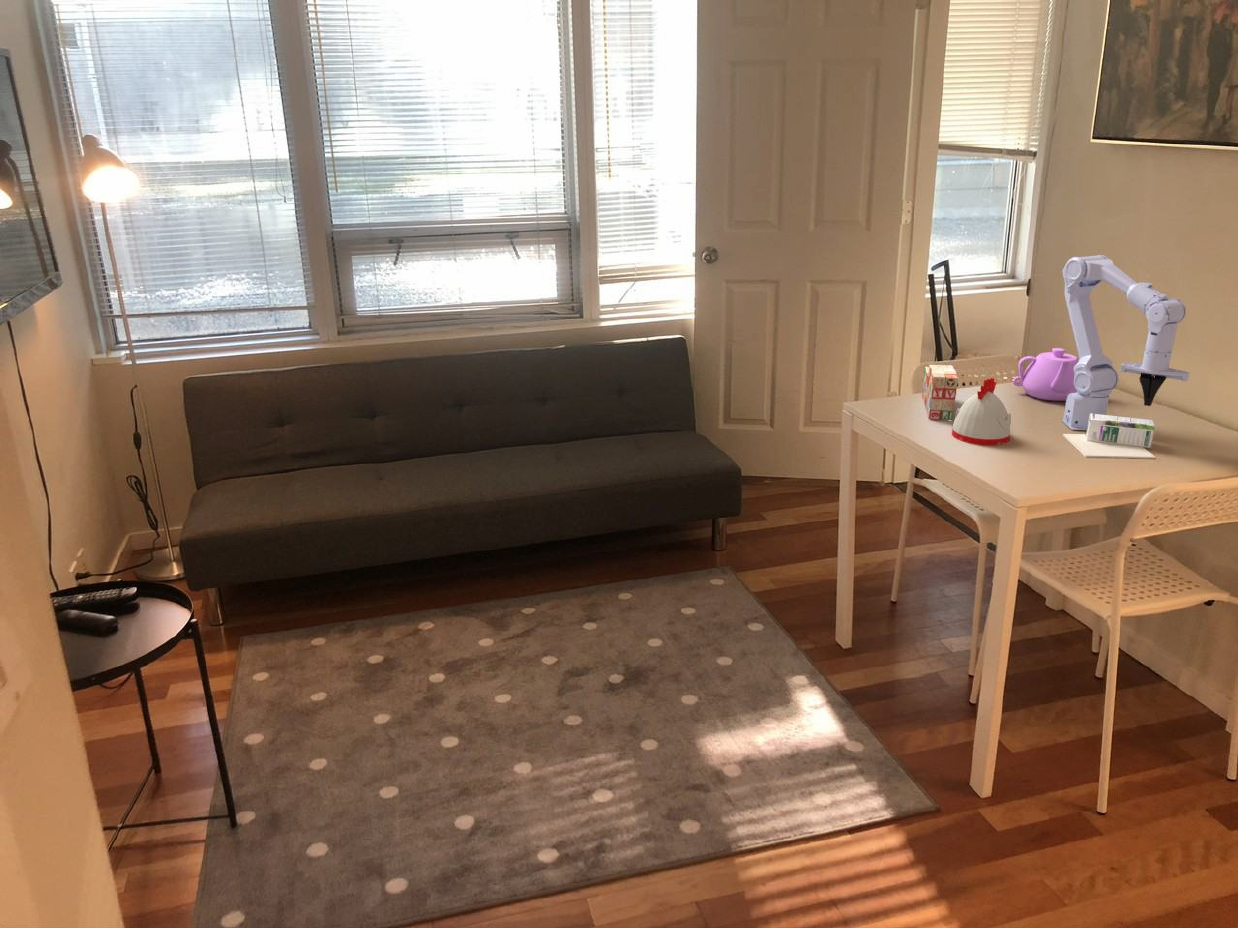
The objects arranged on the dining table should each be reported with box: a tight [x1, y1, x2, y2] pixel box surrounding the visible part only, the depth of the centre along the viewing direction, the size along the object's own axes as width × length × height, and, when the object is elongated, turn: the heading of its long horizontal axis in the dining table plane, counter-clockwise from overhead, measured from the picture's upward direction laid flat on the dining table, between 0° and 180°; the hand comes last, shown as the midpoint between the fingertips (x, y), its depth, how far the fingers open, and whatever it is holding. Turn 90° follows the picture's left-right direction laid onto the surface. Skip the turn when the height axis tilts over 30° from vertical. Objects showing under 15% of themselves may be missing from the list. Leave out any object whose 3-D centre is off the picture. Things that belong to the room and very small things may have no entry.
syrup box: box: [1085, 414, 1156, 449], centre depth 241 cm, size 6×6×14 cm
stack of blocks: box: [921, 364, 959, 421], centre depth 268 cm, size 21×6×12 cm, turn 169°
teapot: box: [1012, 347, 1095, 402], centre depth 276 cm, size 22×22×14 cm
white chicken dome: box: [951, 377, 1012, 446], centre depth 245 cm, size 14×14×15 cm
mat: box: [1062, 433, 1156, 460], centre depth 240 cm, size 16×16×1 cm
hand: (1147, 404), depth 237 cm, fingers closed
